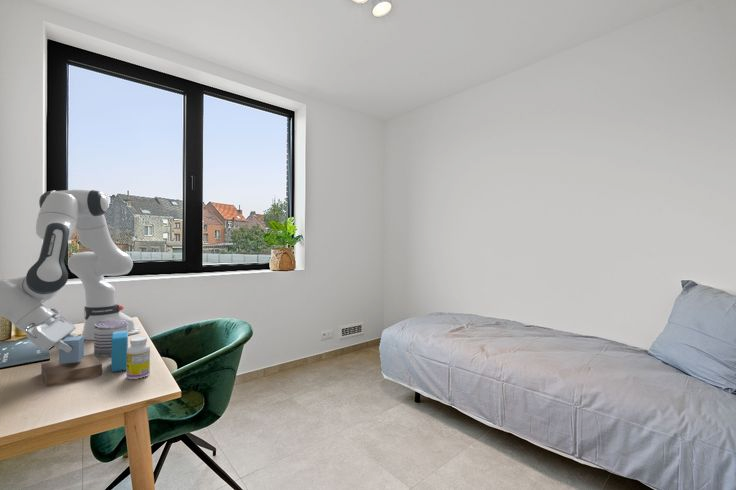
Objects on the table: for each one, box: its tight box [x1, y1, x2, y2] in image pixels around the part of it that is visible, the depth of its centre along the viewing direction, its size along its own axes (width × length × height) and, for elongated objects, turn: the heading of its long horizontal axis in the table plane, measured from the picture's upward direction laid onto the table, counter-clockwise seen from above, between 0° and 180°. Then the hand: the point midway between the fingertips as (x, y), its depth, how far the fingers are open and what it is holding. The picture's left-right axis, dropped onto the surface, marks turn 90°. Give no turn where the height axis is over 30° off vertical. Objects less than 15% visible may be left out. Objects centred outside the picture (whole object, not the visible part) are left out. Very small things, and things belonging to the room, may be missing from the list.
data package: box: [110, 330, 129, 373], centre depth 127 cm, size 12×4×12 cm, turn 34°
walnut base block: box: [40, 353, 103, 388], centre depth 119 cm, size 14×14×4 cm
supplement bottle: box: [125, 336, 151, 380], centre depth 119 cm, size 7×7×13 cm
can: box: [93, 320, 129, 357], centre depth 142 cm, size 11×11×12 cm
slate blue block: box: [58, 335, 85, 364], centre depth 119 cm, size 5×5×8 cm
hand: (74, 347), depth 120 cm, fingers closed on slate blue block, 5 cm apart
